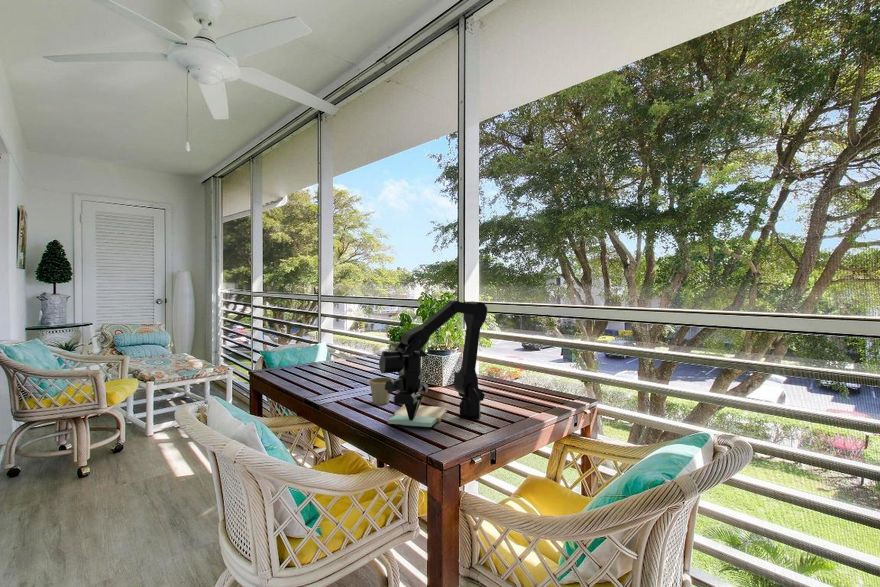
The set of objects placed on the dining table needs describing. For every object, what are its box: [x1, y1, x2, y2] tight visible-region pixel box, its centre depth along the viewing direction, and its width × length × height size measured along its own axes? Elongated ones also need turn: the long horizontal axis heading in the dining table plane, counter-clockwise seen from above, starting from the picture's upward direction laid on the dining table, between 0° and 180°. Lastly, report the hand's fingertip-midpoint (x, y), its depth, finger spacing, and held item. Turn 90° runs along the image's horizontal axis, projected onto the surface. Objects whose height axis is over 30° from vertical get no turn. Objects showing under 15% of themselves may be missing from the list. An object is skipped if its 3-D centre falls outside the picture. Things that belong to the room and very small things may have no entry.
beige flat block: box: [392, 404, 448, 423], centre depth 146 cm, size 16×12×2 cm
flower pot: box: [368, 377, 394, 405], centre depth 161 cm, size 9×9×9 cm
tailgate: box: [387, 415, 438, 428], centre depth 136 cm, size 14×2×8 cm
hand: (411, 419), depth 135 cm, fingers closed
